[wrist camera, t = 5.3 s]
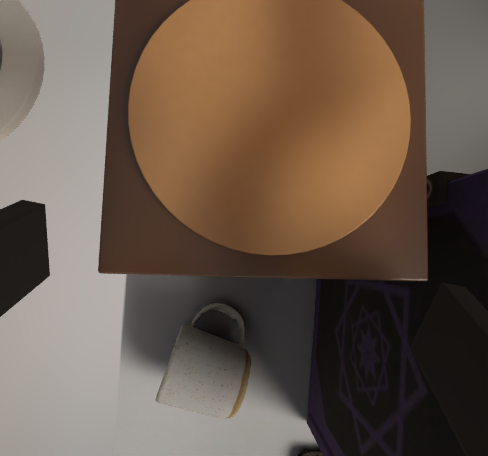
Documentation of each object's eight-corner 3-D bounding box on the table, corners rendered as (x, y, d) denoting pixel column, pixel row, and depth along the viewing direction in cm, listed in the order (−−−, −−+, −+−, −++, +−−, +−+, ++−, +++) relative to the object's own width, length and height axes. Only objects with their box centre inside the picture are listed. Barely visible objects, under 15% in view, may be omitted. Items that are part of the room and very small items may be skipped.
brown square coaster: (112, 271, 13) (93, 273, 11) (129, -14, 14) (115, -55, 12) (406, 278, 14) (434, 282, 12) (403, 7, 15) (429, -29, 13)
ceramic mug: (230, 404, 38) (233, 440, 30) (161, 383, 38) (146, 414, 30) (258, 313, 39) (268, 326, 32) (191, 292, 39) (184, 300, 31)
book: (356, 425, 39) (798, 989, 9) (302, 421, 38) (578, 997, 9) (368, 223, 41) (762, 137, 11) (317, 218, 41) (582, 115, 11)
